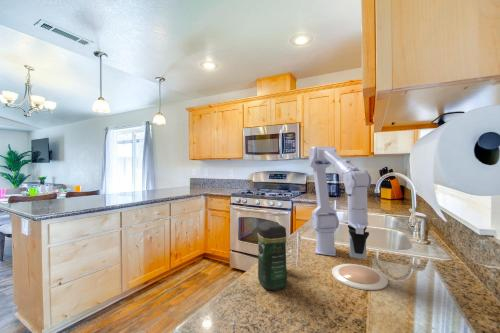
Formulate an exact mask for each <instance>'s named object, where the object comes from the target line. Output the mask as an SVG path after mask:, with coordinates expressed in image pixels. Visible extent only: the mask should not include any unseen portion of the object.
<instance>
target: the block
mask: <svg viewBox="0 0 500 333" xmlns="http://www.w3.org/2000/svg"><path fill="white" fill-rule="evenodd" d="M348 236H349V238H348V241H349V245H348V246H349V256H350V258H355V259H364V260H365V259H367V241H366V242H365V246H364V251H363V254H357V253H355V250H354V245H353V240H352V237H351V235H350V233H349V235H348Z"/></svg>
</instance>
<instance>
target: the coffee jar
mask: <svg viewBox="0 0 500 333" xmlns="http://www.w3.org/2000/svg"><path fill="white" fill-rule="evenodd" d="M257 242H258V243H257V247H258V248H257V252H258V254H257V257H258V258H257V260H258V261H257V264H258V265H257V279H258V282H259V283H260V284H261V286H262V287H263V288H264V289H266V290H270V291H271V290H272V291H279V290H281V289H283V288H286V287H287V286H288V275H287V274H288V273H287V272H288V271H287V247H286V246H287V228H286V227H285V226H283V225H282V224H280V223H278V222H275V221H273V220H262V221H261V222H259V224H258V225H257Z"/></svg>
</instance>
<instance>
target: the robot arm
mask: <svg viewBox="0 0 500 333" xmlns="http://www.w3.org/2000/svg"><path fill="white" fill-rule="evenodd" d="M308 160H309V166H310V167H311V168H312V170H313V179H314V187H315V195H316V197H315V198H316V206H317V207H315V208H314V209H313V210H312V211H311V220H310V221H311V226H312V228H313V229H314V230H315V240H316V246H315V250H314V254H315V255H325V256H326V255H327V256H333V257H334V256H335V257H336V255H337V254H336V252H337V251H336V250H337V249H336V248H337V247H336V245H335V243H336V242H335V232H337V229H338V228H339V226H340V220H339V217H338V214H337V211H336V209H334V208H333V207H332V206H331V204H330V203H331V202H330V194H329V189H328V182H327V181H328V180H327V172H326V169H327V168H329V167H330V166H331V165H332V166H334V171H335V172H336V173H337V174H338V175H339V176H340V178H341V179H342V181H343V185H344V187H345V188H344V189H345V193H346V194H347V220H346V219H345V220H343V223H344V224H345V225H346V224H347V227H348V233H349V234H350V235H351V237H352V240H353V245H354V250H355V253H357V254H363V251H364V246H365V242H366V243H367V239H368V237H369V235H370V232H369V231H366V230H367V229H368V228H367V227H368V226H369V222H368V188H370V186H371V184H372V176H371V174H370V173H369V172H368V170H366V169H365V170H361V169H359V168H358V167H357V166H355V164H353V163H352V162H351V160H350V159H347V158H346V159H342V157H341V156H340V155H339V154H338V152H337V148H335V146H332V145H331V146H311V147H310V148H309V151H308Z"/></svg>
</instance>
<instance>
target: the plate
mask: <svg viewBox="0 0 500 333" xmlns="http://www.w3.org/2000/svg"><path fill="white" fill-rule="evenodd" d="M331 274H332V276H333V278H334V279H335V280H336V281H337V282H339V283H341V284H342V285H344V286H347V287H350V288H353V289H357V290H364V291H378V290H382V289H385V288H386V287H387V286H388V283H389V280H388V277H387V276H386V275H385V274H384V273H382V272H381V271H380V270H377V269H375V268H372V267H371V266H366V265H362V264H356V263H343V264H337V265H335V266H334V267H332V270H331Z"/></svg>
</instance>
